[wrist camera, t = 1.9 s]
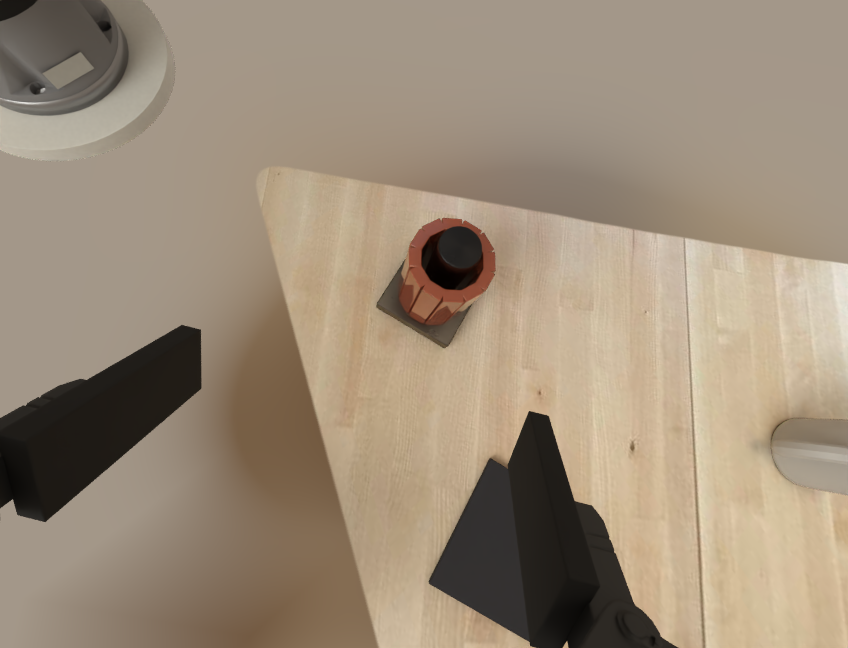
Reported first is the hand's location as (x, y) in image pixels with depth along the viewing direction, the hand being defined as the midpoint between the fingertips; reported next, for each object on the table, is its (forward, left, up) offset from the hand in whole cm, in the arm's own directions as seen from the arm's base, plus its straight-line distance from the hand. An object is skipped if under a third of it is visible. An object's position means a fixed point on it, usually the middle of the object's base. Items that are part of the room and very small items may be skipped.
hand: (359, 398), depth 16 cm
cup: (+42, +19, -23) cm, 52 cm away
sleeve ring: (0, +13, -21) cm, 25 cm away
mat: (+19, -4, -23) cm, 30 cm away
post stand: (0, +13, -23) cm, 26 cm away
